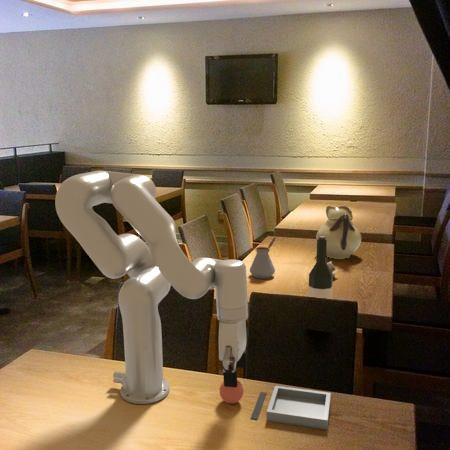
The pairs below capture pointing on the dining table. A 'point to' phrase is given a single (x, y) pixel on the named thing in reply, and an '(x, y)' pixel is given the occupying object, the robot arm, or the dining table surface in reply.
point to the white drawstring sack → (340, 233)
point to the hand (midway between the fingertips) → (235, 376)
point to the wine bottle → (321, 273)
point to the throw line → (258, 405)
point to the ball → (231, 393)
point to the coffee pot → (262, 263)
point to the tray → (299, 407)
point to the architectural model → (332, 268)
